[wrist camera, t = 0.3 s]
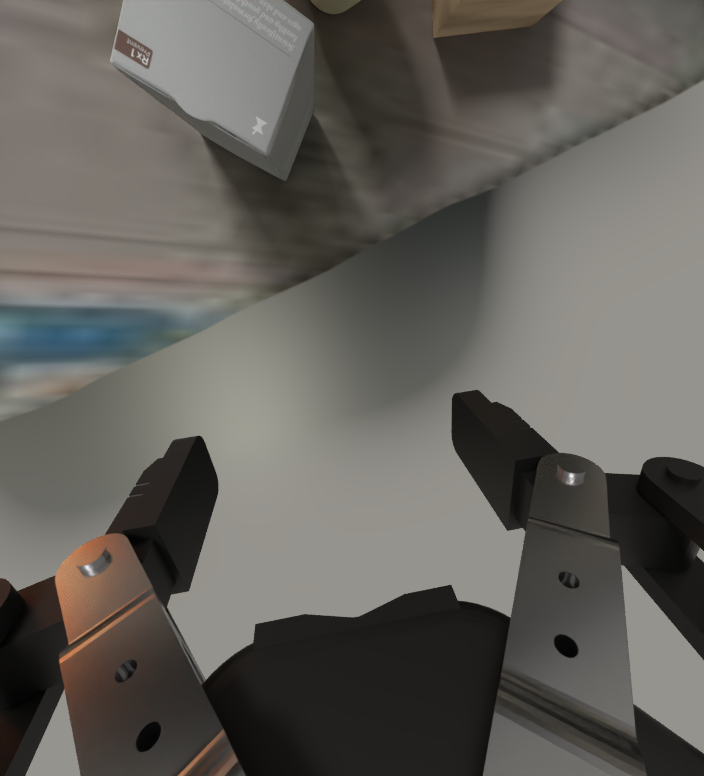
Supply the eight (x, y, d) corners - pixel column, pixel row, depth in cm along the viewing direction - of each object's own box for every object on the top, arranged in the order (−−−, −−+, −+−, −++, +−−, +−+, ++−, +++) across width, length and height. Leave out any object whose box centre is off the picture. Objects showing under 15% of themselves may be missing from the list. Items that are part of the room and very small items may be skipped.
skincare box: (314, 111, 31) (333, 10, 17) (282, 192, 33) (274, 164, 19) (218, 46, 29) (145, -137, 14) (190, 139, 31) (101, 60, 16)
